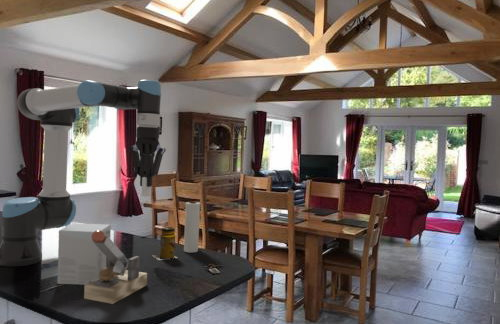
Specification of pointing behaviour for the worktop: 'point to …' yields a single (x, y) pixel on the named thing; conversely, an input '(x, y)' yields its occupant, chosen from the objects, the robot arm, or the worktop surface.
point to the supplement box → (80, 254)
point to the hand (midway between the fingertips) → (145, 196)
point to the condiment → (167, 244)
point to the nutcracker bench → (116, 283)
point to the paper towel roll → (191, 227)
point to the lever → (111, 252)
